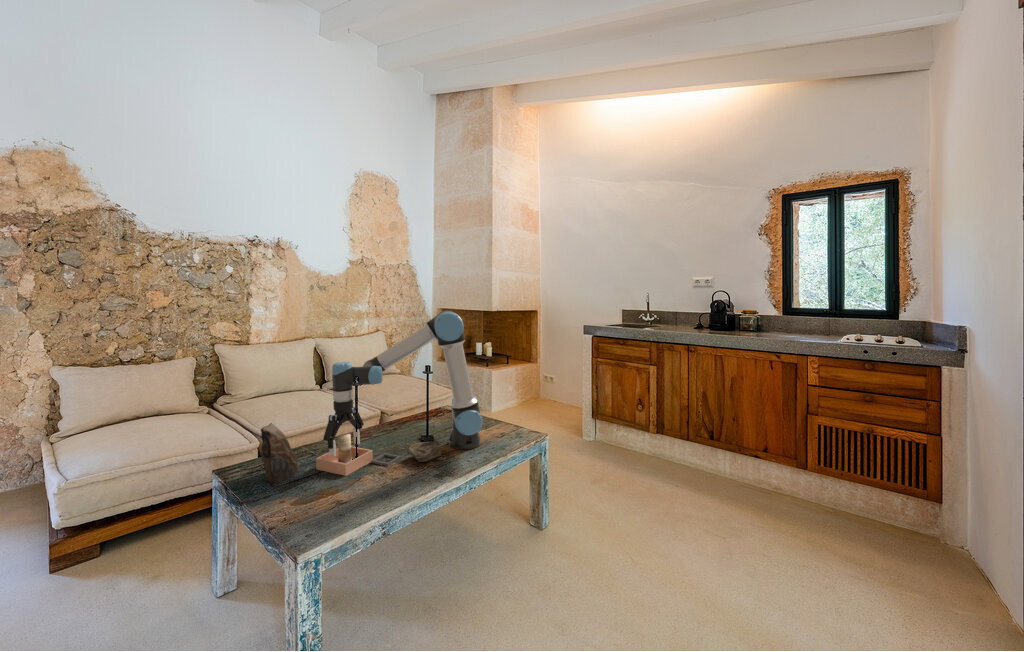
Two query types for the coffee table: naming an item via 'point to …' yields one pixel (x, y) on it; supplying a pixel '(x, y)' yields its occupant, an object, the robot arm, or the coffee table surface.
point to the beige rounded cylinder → (344, 448)
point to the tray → (336, 467)
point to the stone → (425, 450)
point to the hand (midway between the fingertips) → (345, 449)
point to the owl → (277, 455)
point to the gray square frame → (385, 462)
